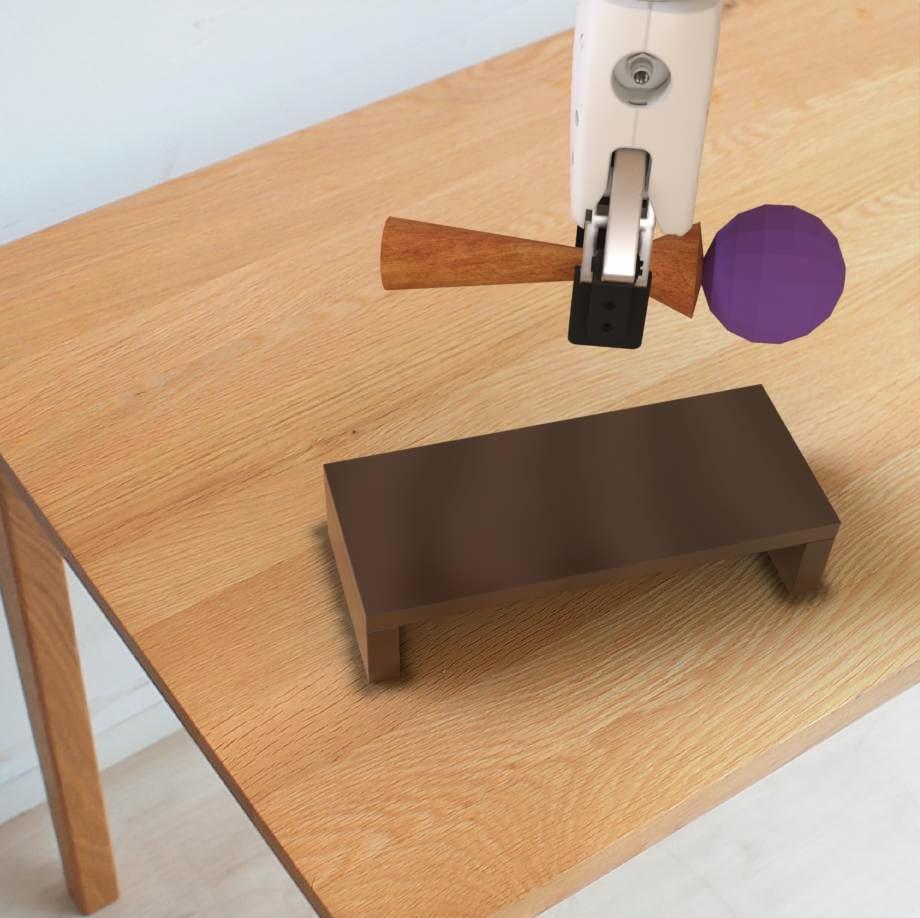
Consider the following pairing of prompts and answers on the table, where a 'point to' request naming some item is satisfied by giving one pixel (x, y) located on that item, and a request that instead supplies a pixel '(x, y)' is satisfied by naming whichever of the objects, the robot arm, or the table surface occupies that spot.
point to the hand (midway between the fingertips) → (606, 294)
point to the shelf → (570, 511)
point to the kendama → (653, 267)
